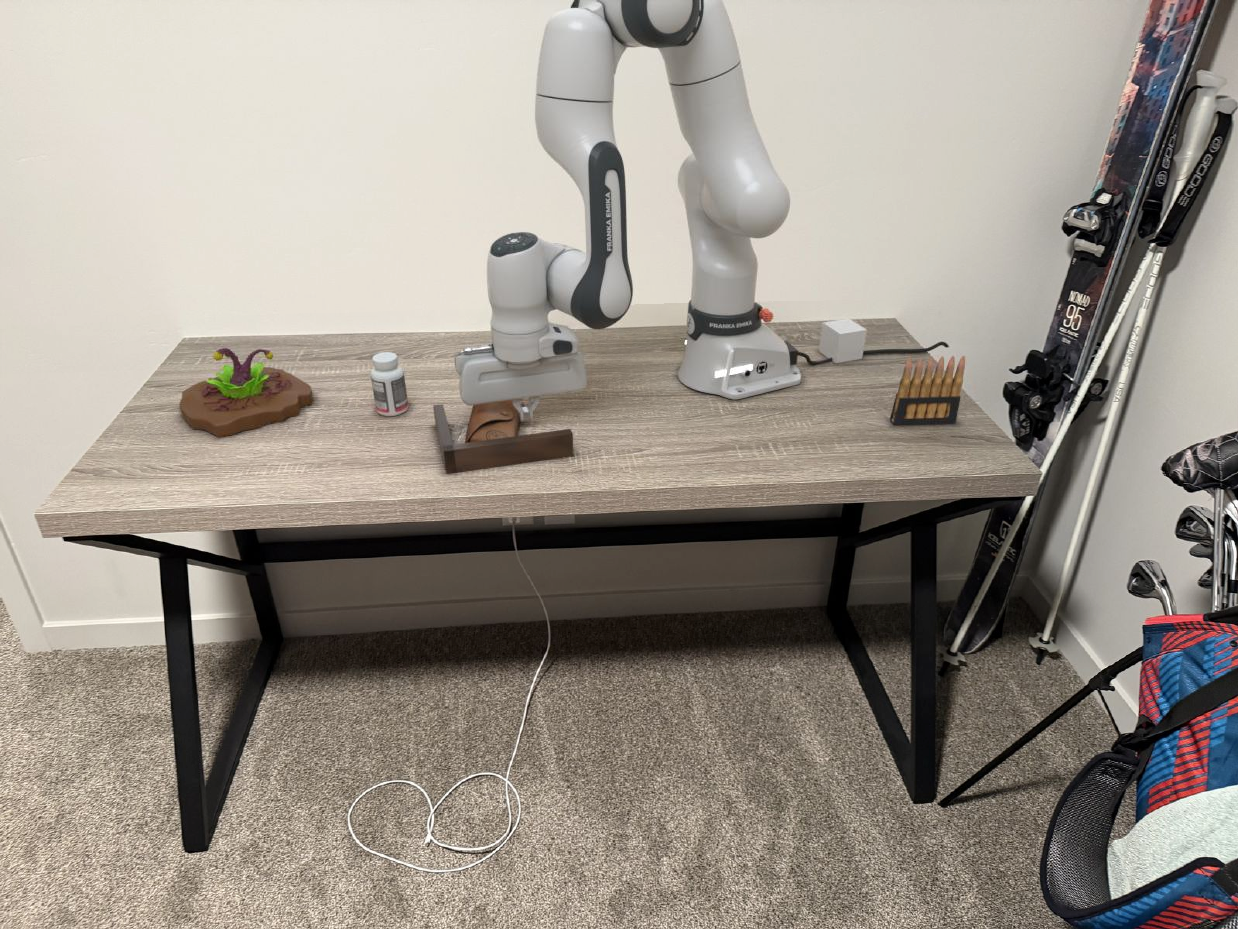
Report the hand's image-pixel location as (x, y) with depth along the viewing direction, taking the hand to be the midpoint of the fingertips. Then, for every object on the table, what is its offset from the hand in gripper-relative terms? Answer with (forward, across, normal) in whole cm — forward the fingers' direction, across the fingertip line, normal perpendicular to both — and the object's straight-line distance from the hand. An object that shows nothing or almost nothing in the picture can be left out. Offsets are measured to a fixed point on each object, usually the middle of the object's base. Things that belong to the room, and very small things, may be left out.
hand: (525, 419), depth 139 cm
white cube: (+2, +64, +12) cm, 65 cm away
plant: (+1, -45, +20) cm, 49 cm away
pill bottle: (+2, -21, +12) cm, 24 cm away
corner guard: (+1, -5, -3) cm, 6 cm away
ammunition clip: (+2, +64, -16) cm, 66 cm away
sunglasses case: (+2, -5, 0) cm, 5 cm away
